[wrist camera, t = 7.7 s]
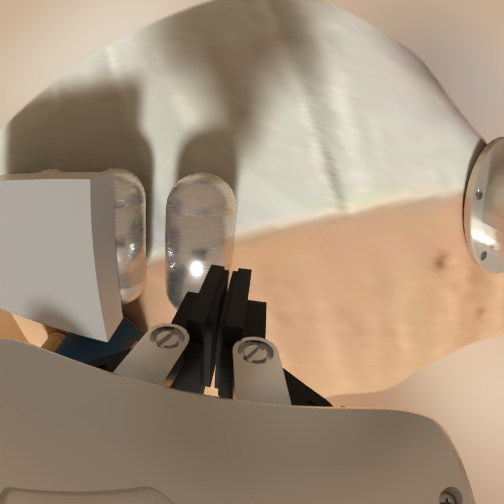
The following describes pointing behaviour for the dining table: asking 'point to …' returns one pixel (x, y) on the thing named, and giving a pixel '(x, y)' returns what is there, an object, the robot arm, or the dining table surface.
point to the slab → (60, 251)
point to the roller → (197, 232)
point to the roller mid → (129, 233)
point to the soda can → (100, 343)
